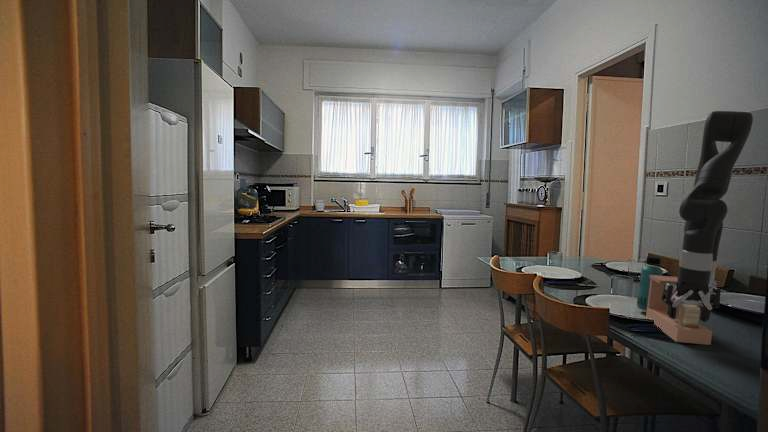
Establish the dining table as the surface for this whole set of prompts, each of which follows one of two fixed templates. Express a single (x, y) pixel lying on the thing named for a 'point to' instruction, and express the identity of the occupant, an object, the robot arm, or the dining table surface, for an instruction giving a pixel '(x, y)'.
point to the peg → (688, 315)
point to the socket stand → (664, 322)
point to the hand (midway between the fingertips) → (687, 319)
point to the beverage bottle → (647, 281)
